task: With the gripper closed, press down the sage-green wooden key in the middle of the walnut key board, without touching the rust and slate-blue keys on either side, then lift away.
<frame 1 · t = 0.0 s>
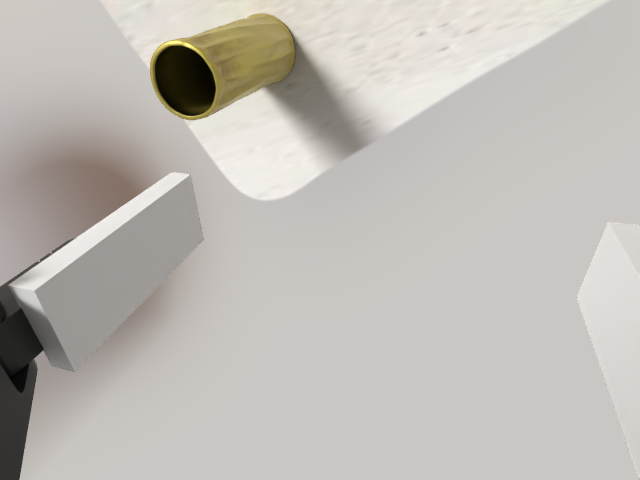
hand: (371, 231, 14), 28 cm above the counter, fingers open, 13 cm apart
vase: (266, 49, 39), on the counter
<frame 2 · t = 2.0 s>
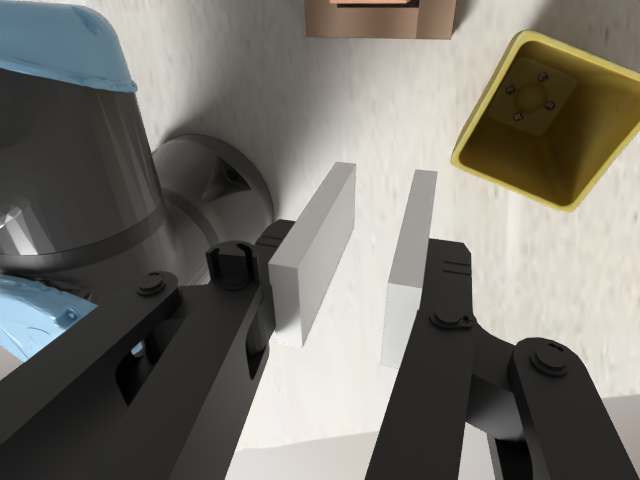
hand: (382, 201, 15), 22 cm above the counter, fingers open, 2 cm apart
flower pot: (529, 93, 32), on the counter
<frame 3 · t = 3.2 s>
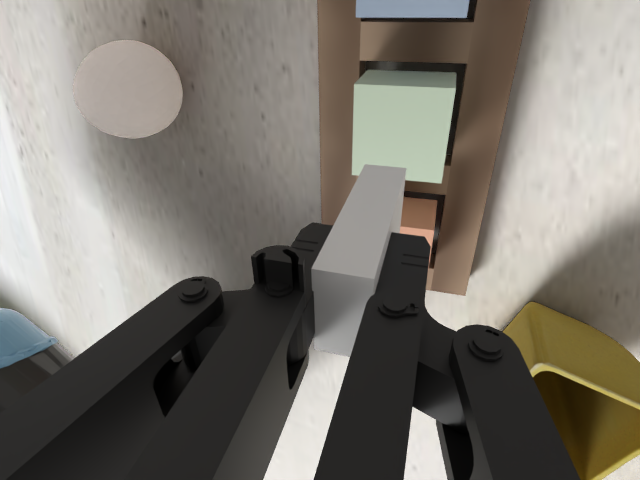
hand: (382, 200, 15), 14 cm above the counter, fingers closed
key sage: (403, 124, 23), point 4 cm above the counter, slide at 0.0 cm
flower pot: (541, 329, 33), on the counter
egg: (165, 79, 31), on the counter
key board: (409, 106, 27), on the counter
key rust: (392, 242, 28), point 4 cm above the counter, slide at 0.0 cm
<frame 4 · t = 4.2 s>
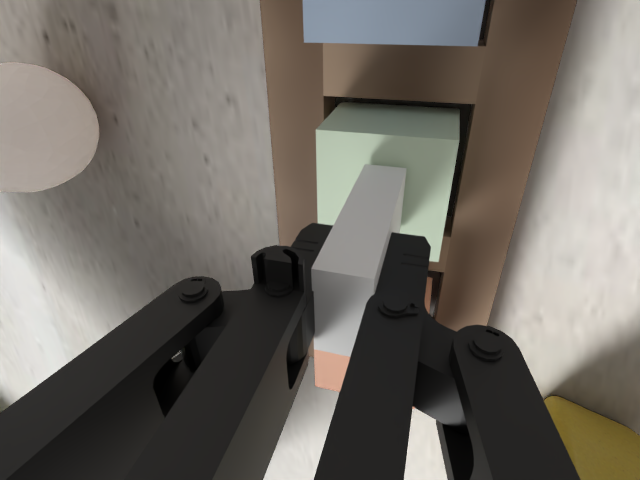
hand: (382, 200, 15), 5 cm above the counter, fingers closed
key sage: (387, 178, 17), point 3 cm above the counter, slide at 1.1 cm, touching gripper
flower pot: (564, 425, 26), on the counter
egg: (81, 108, 24), on the counter
key board: (396, 154, 20), on the counter
key rust: (372, 332, 21), point 4 cm above the counter, slide at 0.0 cm
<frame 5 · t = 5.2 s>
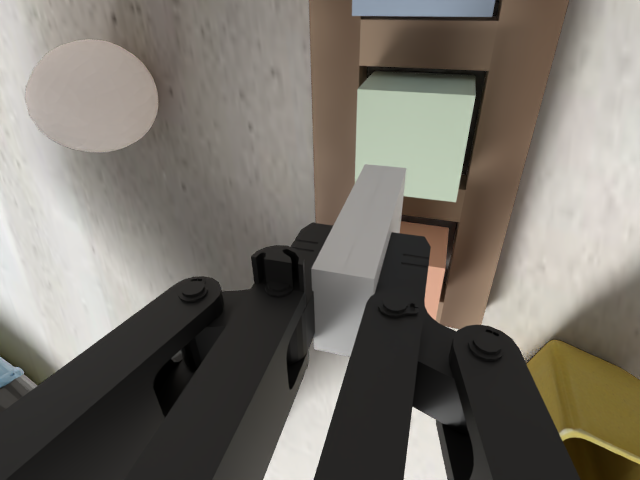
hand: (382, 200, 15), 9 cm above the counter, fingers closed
key sage: (413, 133, 21), point 3 cm above the counter, slide at 1.4 cm
flower pot: (564, 369, 29), on the counter
egg: (140, 82, 27), on the counter
key board: (418, 118, 23), on the counter
key rust: (396, 275, 24), point 4 cm above the counter, slide at 0.0 cm
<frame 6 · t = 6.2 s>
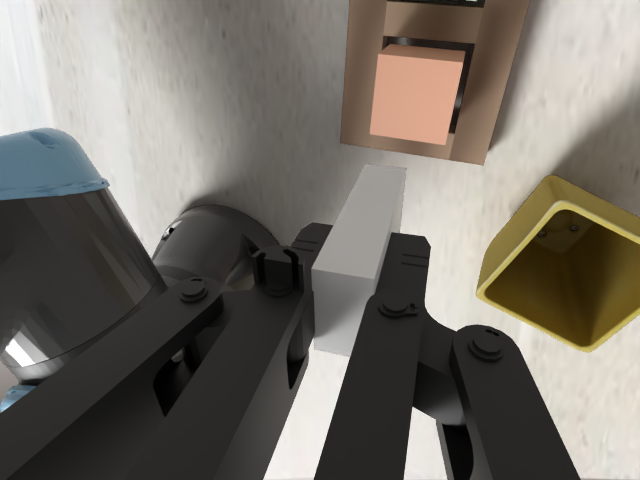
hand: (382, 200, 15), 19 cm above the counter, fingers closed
flower pot: (555, 214, 33), on the counter
key rust: (416, 93, 27), point 4 cm above the counter, slide at 0.0 cm
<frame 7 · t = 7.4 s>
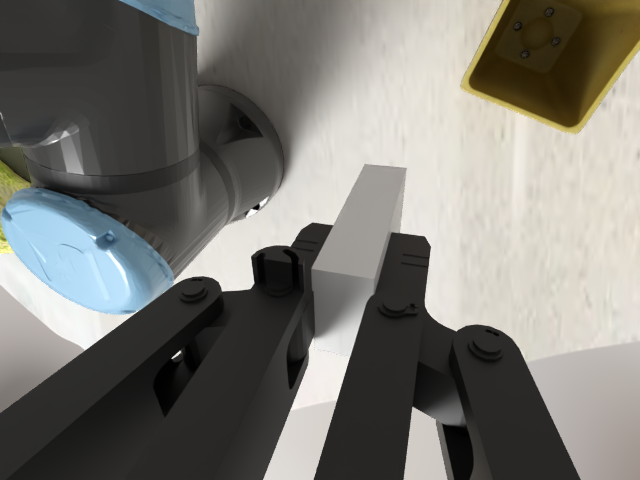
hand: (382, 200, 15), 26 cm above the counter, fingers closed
lettuce: (16, 183, 60), on the counter
flower pot: (536, 31, 33), on the counter
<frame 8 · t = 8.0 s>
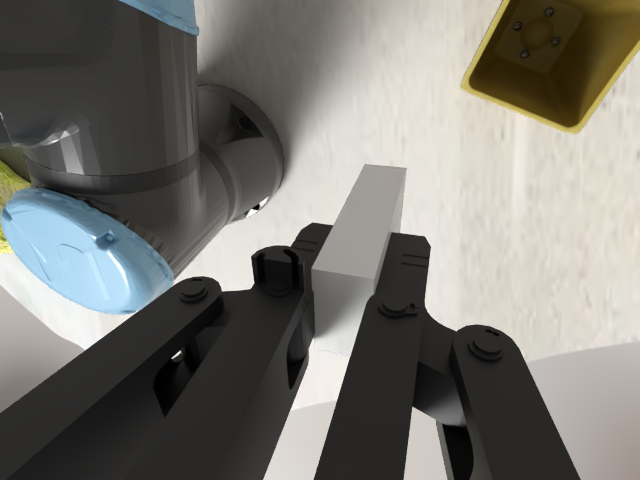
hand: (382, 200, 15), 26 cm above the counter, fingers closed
lettuce: (16, 183, 61), on the counter
flower pot: (536, 30, 33), on the counter
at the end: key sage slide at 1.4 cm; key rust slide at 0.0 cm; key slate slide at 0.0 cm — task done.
